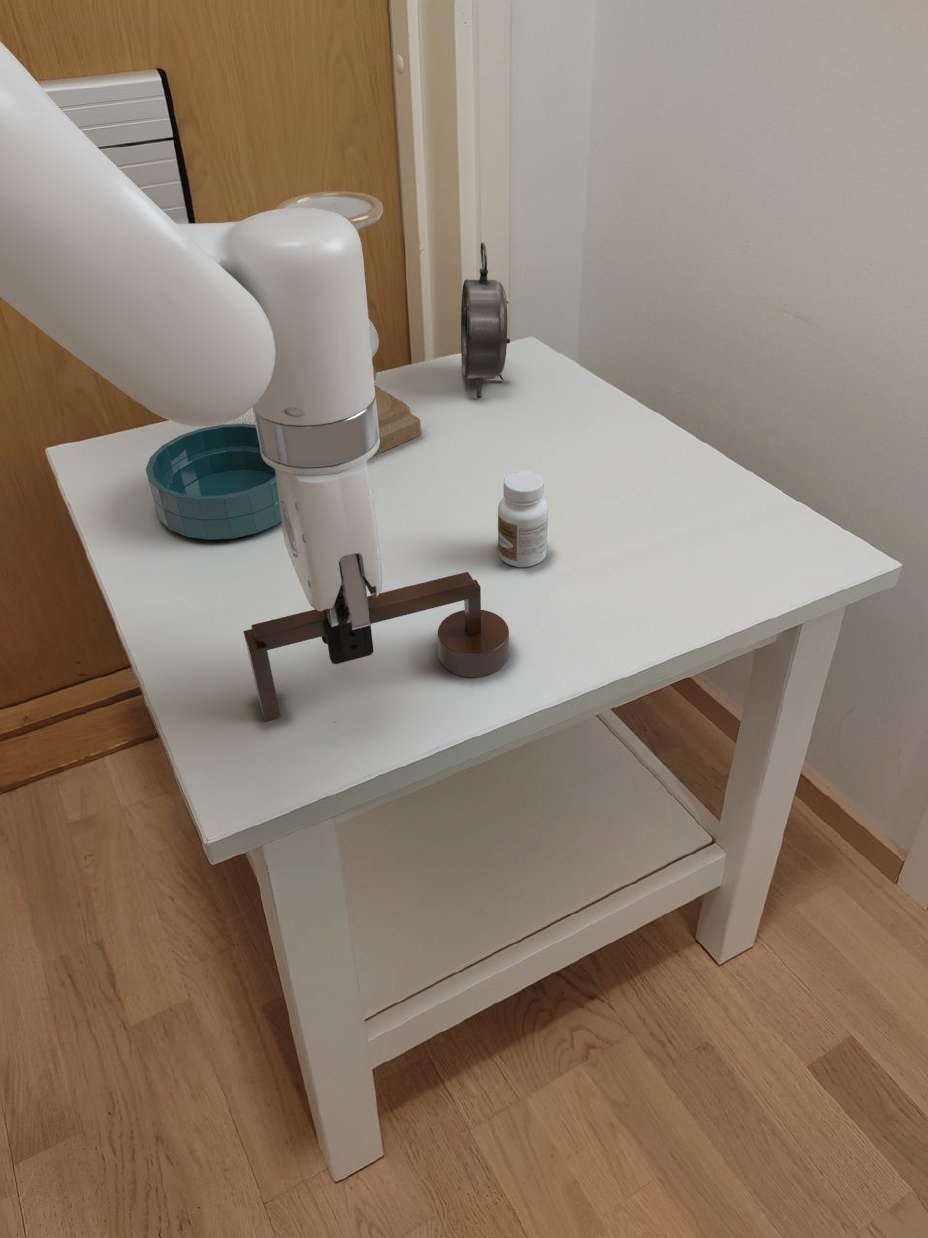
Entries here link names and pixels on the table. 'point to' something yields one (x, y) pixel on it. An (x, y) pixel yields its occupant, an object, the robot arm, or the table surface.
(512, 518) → the pill bottle
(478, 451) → the table surface
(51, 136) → the robot arm
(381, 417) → the candle holder
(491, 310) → the alarm clock
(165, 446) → the bowl
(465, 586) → the ladle
